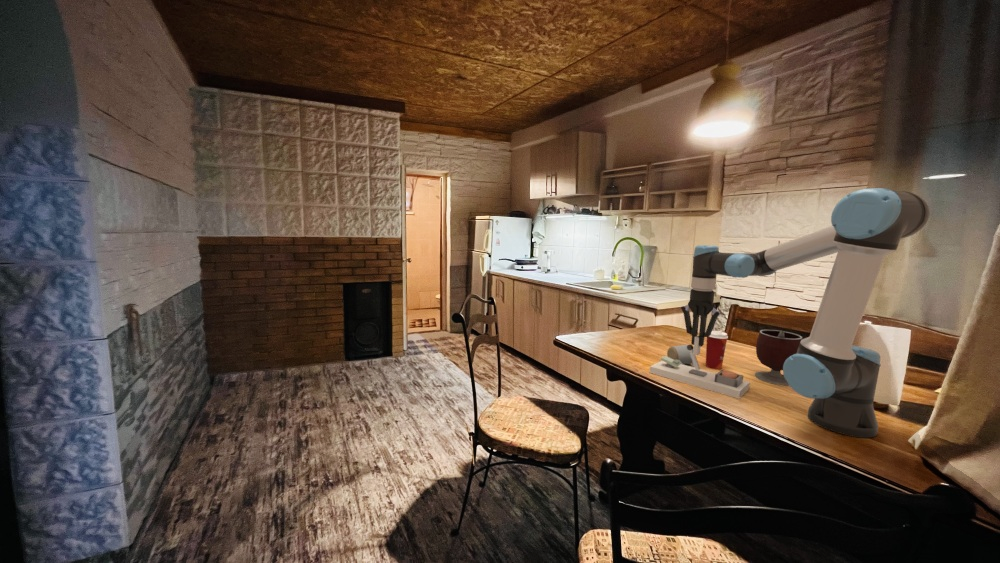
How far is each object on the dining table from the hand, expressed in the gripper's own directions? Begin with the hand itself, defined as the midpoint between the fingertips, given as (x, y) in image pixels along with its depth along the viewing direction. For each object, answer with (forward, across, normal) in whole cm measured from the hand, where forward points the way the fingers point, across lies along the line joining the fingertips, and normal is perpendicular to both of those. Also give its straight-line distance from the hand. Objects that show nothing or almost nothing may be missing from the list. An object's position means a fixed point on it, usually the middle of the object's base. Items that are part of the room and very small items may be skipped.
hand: (696, 354), depth 143 cm
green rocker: (+5, +9, 0) cm, 10 cm away
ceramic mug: (+10, +9, -13) cm, 19 cm away
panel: (+10, -1, 0) cm, 10 cm away
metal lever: (+6, -1, 0) cm, 6 cm away
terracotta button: (+6, -11, 0) cm, 13 cm away
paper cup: (+10, 0, -21) cm, 23 cm away
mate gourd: (+10, -20, -24) cm, 33 cm away
